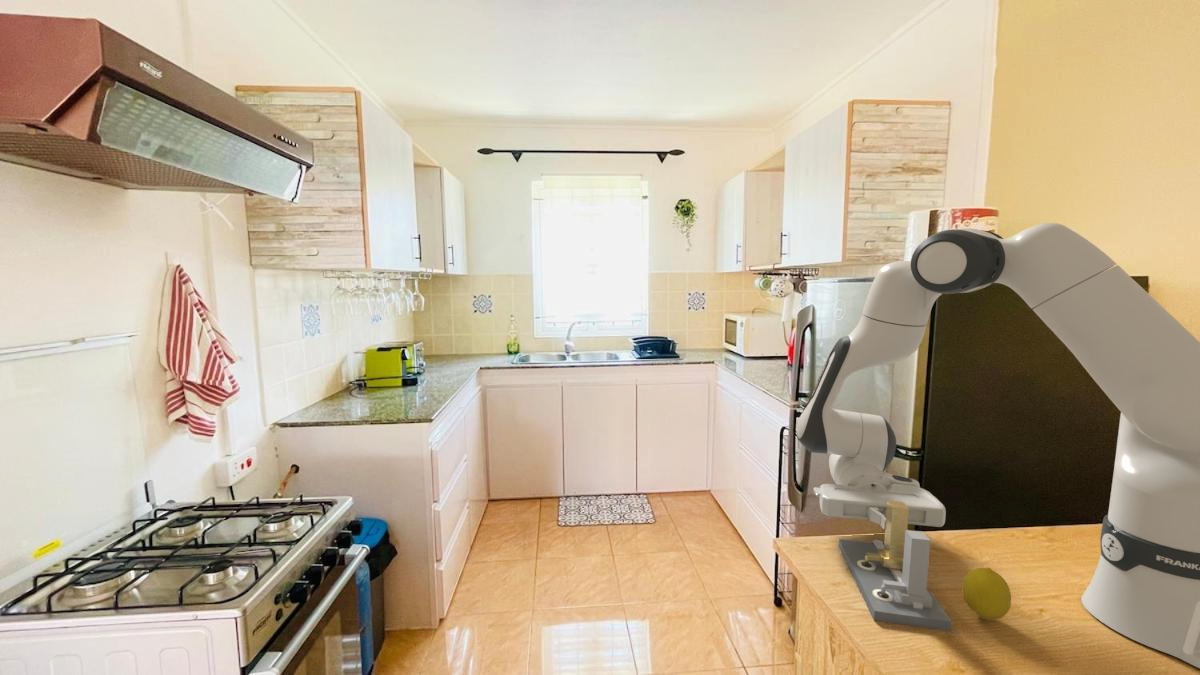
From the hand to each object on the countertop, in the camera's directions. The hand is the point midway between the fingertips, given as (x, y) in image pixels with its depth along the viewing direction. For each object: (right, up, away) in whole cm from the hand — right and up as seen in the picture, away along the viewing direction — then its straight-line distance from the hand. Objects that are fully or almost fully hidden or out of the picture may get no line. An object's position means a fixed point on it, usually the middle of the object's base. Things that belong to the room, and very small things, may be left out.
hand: (893, 526), depth 80 cm
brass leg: (-1, -7, 0) cm, 7 cm away
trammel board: (-2, -9, -2) cm, 9 cm away
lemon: (+7, -10, -10) cm, 16 cm away
